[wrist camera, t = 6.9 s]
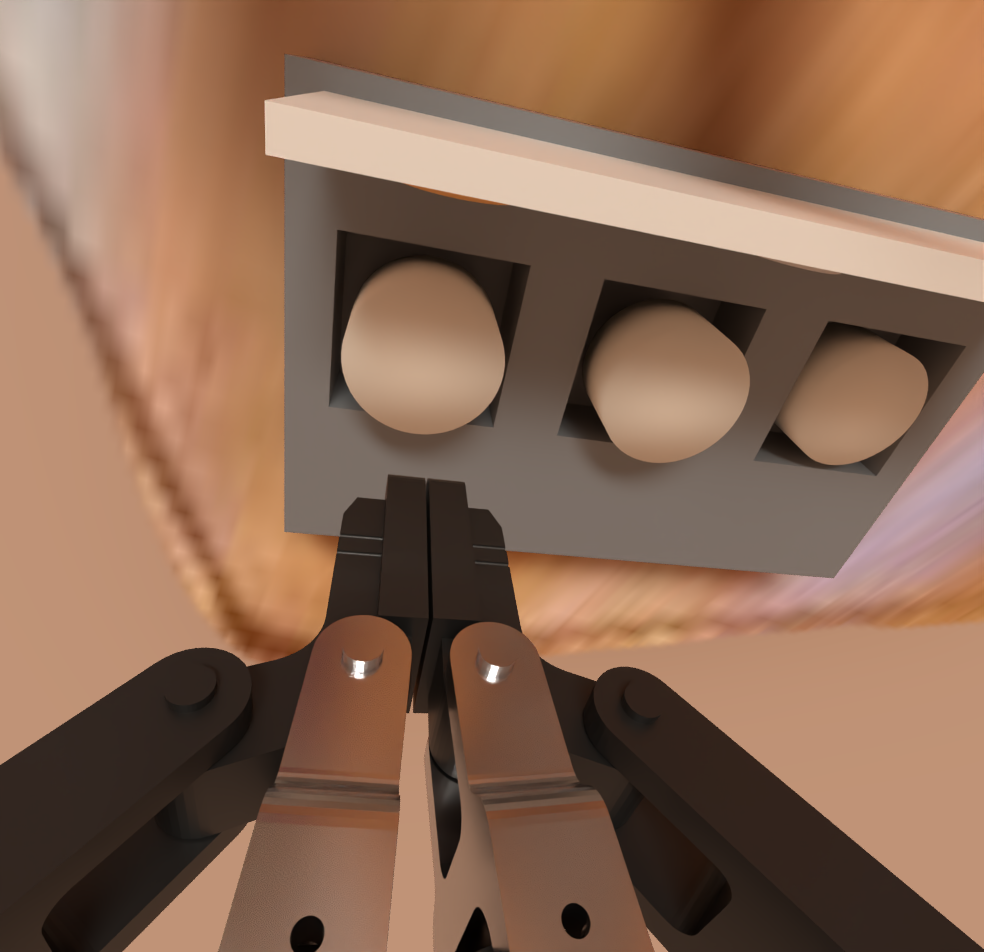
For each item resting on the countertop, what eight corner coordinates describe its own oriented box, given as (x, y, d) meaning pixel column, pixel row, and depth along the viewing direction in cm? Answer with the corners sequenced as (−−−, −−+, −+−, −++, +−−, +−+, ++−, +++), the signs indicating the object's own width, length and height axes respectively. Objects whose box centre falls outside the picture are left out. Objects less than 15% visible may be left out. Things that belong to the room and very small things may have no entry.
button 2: (900, 331, 24) (955, 361, 21) (837, 434, 27) (879, 471, 24) (796, 312, 23) (840, 340, 20) (741, 421, 26) (775, 457, 23)
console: (984, 219, 23) (1346, 312, 14) (791, 526, 32) (937, 705, 23) (309, 57, 18) (196, 39, 9) (301, 475, 27) (239, 679, 18)
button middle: (734, 310, 21) (776, 342, 18) (682, 429, 24) (712, 470, 21) (606, 287, 20) (631, 317, 17) (567, 413, 23) (585, 454, 20)
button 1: (508, 269, 19) (521, 298, 17) (480, 401, 22) (487, 442, 20) (356, 242, 18) (345, 267, 16) (347, 383, 21) (337, 424, 19)
